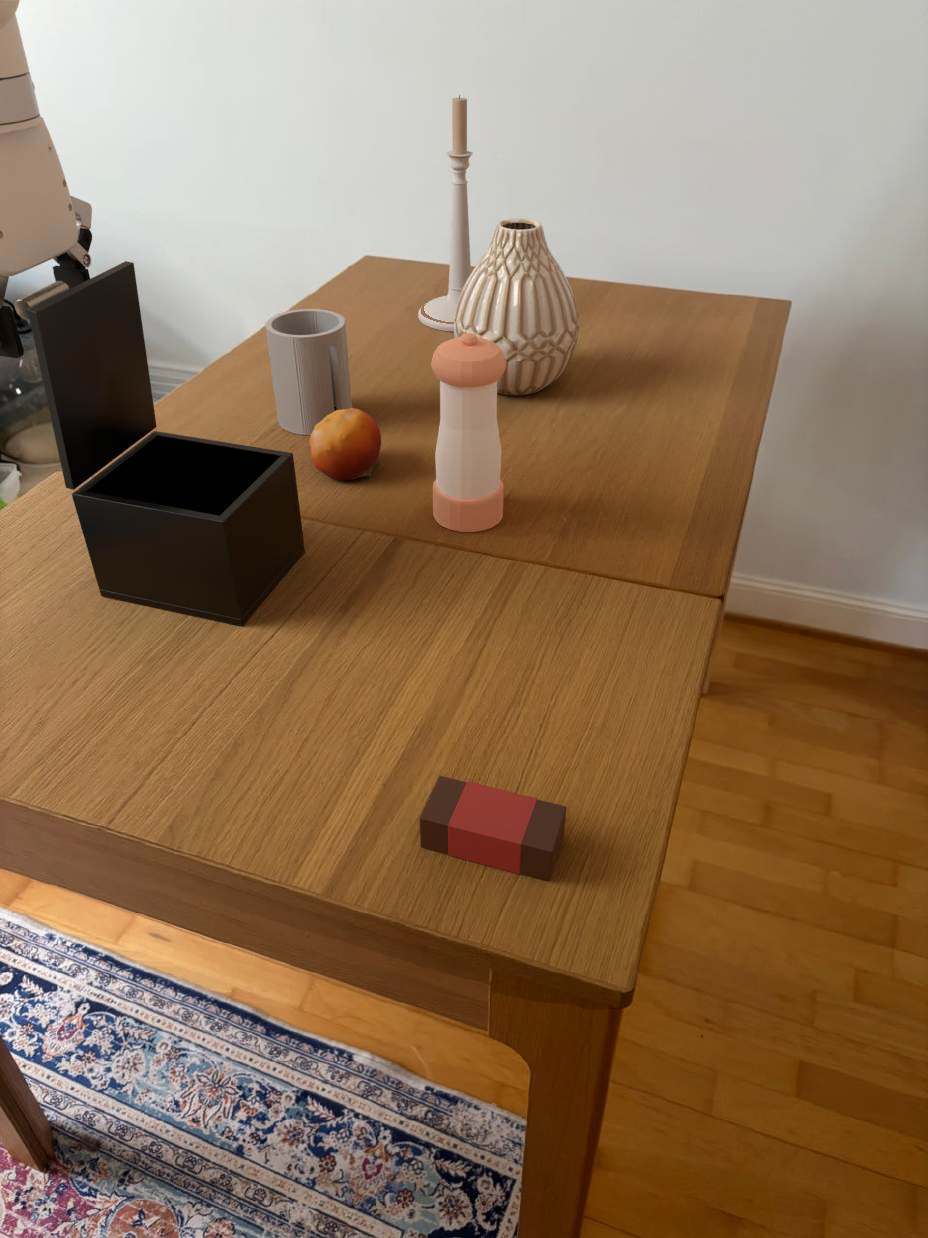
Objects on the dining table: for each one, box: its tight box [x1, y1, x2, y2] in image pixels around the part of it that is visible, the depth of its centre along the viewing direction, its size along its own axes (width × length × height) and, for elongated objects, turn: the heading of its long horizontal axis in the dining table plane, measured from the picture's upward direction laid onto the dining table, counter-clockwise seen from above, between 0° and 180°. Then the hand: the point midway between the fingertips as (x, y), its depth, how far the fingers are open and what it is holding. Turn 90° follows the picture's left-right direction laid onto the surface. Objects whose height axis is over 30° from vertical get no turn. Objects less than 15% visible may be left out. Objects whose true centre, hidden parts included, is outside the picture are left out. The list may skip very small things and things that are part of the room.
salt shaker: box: [430, 333, 506, 533], centre depth 92 cm, size 7×7×19 cm
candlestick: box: [417, 94, 473, 333], centre depth 135 cm, size 13×13×30 cm
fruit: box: [308, 407, 382, 481], centre depth 104 cm, size 8×8×8 cm
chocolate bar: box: [419, 775, 567, 882], centre depth 63 cm, size 9×4×3 cm, turn 72°
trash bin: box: [71, 430, 306, 627], centre depth 86 cm, size 15×13×11 cm
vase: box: [453, 217, 580, 396], centre depth 119 cm, size 16×16×20 cm
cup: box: [264, 308, 353, 436], centre depth 113 cm, size 9×9×12 cm
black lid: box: [14, 260, 158, 491], centre depth 80 cm, size 15×13×5 cm
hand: (45, 333), depth 79 cm, fingers open, 9 cm apart
